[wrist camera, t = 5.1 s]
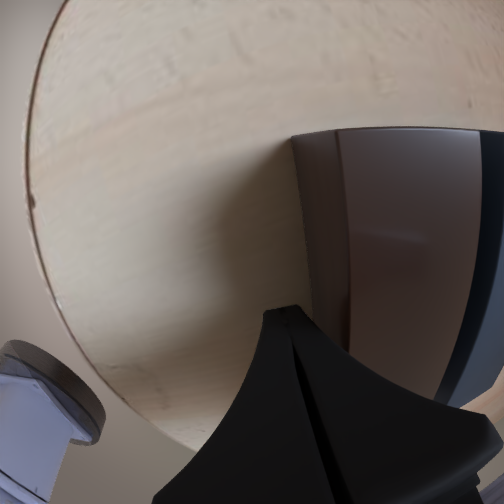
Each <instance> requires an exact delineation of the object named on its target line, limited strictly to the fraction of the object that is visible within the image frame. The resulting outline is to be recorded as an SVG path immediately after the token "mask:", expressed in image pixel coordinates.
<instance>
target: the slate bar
mask: <svg viewBox="0 0 504 504" xmlns="http://www.w3.org/2000/svg"><path fill="white" fill-rule="evenodd" d="M473 130H476V129H473ZM478 131H479V132H480V142H481V158H482V203H481V220H480V231H479V240H478V248H477V255H476V262H475V268H474V273H473V278H472V283H471V288H470V293H469V297H468V301H467V305H466V309H465V313H464V317H463V320H462V324H461V327H460V331H459V334H458V337H457V340H456V343H455V346H454V349H453V352H452V355H451V357H450V360H449V363H448V365H447V368H446V371H445V373H444V376H443V378H442V380H441V383H440V385H439V387H438V390H437V392H436V394H435V396H434V398H433V401H436V402H439V403H442V404H445V405H448V406H451V407H455V408H460V407H462V406H463V405H465V404H467V403H468V402H470V401H472V400H473V399H475V398H476V397H478V396H479V395H481V394H482V393H484V392H485V391H487V390H488V389H490V388H491V387H492V386H493V384H494V382H495V381H496V379H497V377H498V375H499V373H500V371H501V370H502V368H503V366H504V132H497V131H488V130H478Z"/></svg>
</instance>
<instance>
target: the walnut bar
mask: <svg viewBox="0 0 504 504" xmlns="http://www.w3.org/2000/svg"><path fill="white" fill-rule="evenodd" d="M291 142H292V148H293V154H294V160H295V166H296V172H297V179H298V186H299V192H300V199H301V207H302V214H303V222H304V230H305V238H306V246H307V255H308V264H309V274H310V284H311V295H312V307H313V320H314V323H315V324H316V325H317V326H318V327H319V328H320V329H321V330H322V331H323V332H324V333H325V334H326V335H327V336H328V337H330V338H331V339H332V340H333V341H334V342H335V343H336V344H337V345H339V346H340V347H341V348H342V349H343V350H345V351H346V352H347V353H349V354H350V355H351V356H352V357H354V358H355V359H356V360H358V361H359V362H361V363H362V364H364V365H365V366H366V367H368V368H370V369H371V370H373V371H374V372H376V373H377V374H379V375H381V376H382V377H384V378H386V379H388V380H389V381H391V382H393V383H395V384H397V385H399V386H401V387H403V388H405V389H407V390H410V391H412V392H414V393H416V394H418V395H420V396H423V397H425V398H428V399H431V400H433V398H434V396H435V394H436V392H437V390H438V387H439V385H440V383H441V380H442V378H443V376H444V373H445V371H446V368H447V365H448V363H449V360H450V357H451V355H452V352H453V349H454V346H455V343H456V340H457V337H458V334H459V331H460V327H461V324H462V320H463V317H464V313H465V309H466V305H467V301H468V297H469V293H470V288H471V283H472V278H473V273H474V268H475V262H476V255H477V248H478V240H479V231H480V220H481V203H482V158H481V142H480V132H479V131H478V130H473V129H462V128H447V127H420V126H390V127H362V128H346V129H334V130H327V131H320V132H313V133H307V134H300V135H294V136H291Z"/></svg>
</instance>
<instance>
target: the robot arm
mask: <svg viewBox="0 0 504 504" xmlns="http://www.w3.org/2000/svg"><path fill="white" fill-rule="evenodd" d="M70 438H73V439H78V440H83V441H88V442H91V441H92V437H91V436H90V435H89V434H88V433H87V432H86V431H85V430H84V429H83V428H82V427H81V426H80V425H79V424H78V423H77V421H76V420H75V419H74V418H73V417H72V416H71V415H70V414H69V413H68V412H67V410H66V409H65V408H64V407H63V406H62V405H61V403H60V402H59V401H58V400H57V399H56V397H55V396H54V395H53V394H52V393H51V391H50V390H49V389H48V387H47V386H46V385H45V384H44V382H42V381H41V380H39V379H31V378H24V377H18V376H12V375H6V374H0V504H47V503H49V500H50V497H51V493H52V490H53V487H54V484H55V480H56V477H57V474H58V471H59V468H60V465H61V462H62V460H63V457H64V454H65V451H66V449H67V446H68V443H69V441H70ZM503 444H504V442H503V441H502V439H501V437H500V435H499V434H498V432H497V430H496V429H495V427H494V425H493V424H492V423H491V421H490V420H489V419H488V418H487V416H486V415H485V414H480V413H476V412H471V411H467V410H463V409H459V408H455V407H451V406H448V405H445V404H442V403H439V402H436V401H433V400H431V399H428V398H425V397H423V396H420V395H418V394H416V393H414V392H412V391H410V390H407V389H405V388H403V387H401V386H399V385H397V384H395V383H393V382H391V381H389V380H388V379H386V378H384V377H382V376H381V375H379V374H377V373H376V372H374V371H373V370H371V369H370V368H368V367H366V366H365V365H364V364H362V363H361V362H359V361H358V360H356V359H355V358H354V357H352V356H351V355H350V354H349V353H347V352H346V351H345V350H343V349H342V348H341V347H340V346H339V345H337V344H336V343H335V342H334V341H333V340H332V339H331V338H330V337H328V336H327V335H326V334H325V333H324V332H323V331H322V330H321V329H320V328H319V327H318V326H317V325H316V324H315V323H314V322H313V321H312V320H311V319H310V318H309V317H308V316H307V314H306V313H305V312H304V311H303V310H302V308H301V307H300V306H298V305H297V304H296V305H291V306H286V307H281V308H276V309H271V310H266V311H265V312H264V313H263V322H262V328H261V333H260V337H259V341H258V344H257V347H256V351H255V354H254V357H253V360H252V362H251V365H250V367H249V370H248V372H247V374H246V377H245V379H244V381H243V383H242V386H241V388H240V390H239V392H238V394H237V395H236V397H235V399H234V401H233V403H232V405H231V406H230V408H229V410H228V411H227V413H226V414H225V416H224V418H223V419H222V421H221V422H220V424H219V425H218V427H217V428H216V430H215V431H214V432H213V434H212V435H211V436H210V438H209V439H208V440H207V441H206V443H205V444H204V445H203V446H202V448H201V449H200V450H199V451H198V452H197V454H196V455H195V456H194V457H193V458H192V460H191V461H190V462H189V463H188V464H187V465H186V466H185V467H184V469H182V470H181V471H180V472H179V473H178V474H177V475H176V476H175V477H174V478H173V479H172V480H171V481H170V482H169V483H168V484H166V485H165V486H164V487H163V488H162V489H161V490H160V491H159V492H158V493H157V494H156V495H155V496H154V497H153V500H152V504H504V473H503V474H502V475H501V476H499V477H498V478H497V479H496V480H495V481H493V482H492V483H491V484H489V485H488V486H487V487H486V488H484V489H483V490H481V491H480V492H478V490H477V488H476V486H477V485H478V484H479V483H480V479H479V477H478V475H477V472H478V471H479V470H480V469H481V468H483V467H484V466H485V465H486V464H487V463H488V462H489V461H490V460H491V459H492V458H493V457H495V456H496V455H497V454H498V453H499V451H500V450H501V449H502V448H503ZM46 502H47V503H46Z"/></svg>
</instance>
